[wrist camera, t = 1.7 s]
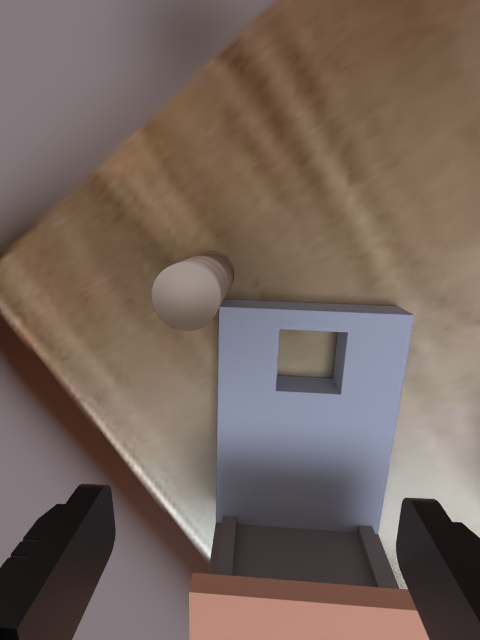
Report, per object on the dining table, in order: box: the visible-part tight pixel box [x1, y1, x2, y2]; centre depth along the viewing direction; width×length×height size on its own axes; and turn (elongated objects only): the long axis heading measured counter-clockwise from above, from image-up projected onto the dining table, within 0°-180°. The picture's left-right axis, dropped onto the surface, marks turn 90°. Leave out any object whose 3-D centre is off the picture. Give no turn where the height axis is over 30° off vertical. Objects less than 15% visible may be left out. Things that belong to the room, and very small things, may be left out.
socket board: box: [189, 299, 429, 640], centre depth 23 cm, size 20×14×14 cm
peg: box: [152, 251, 234, 331], centre depth 23 cm, size 4×4×10 cm
